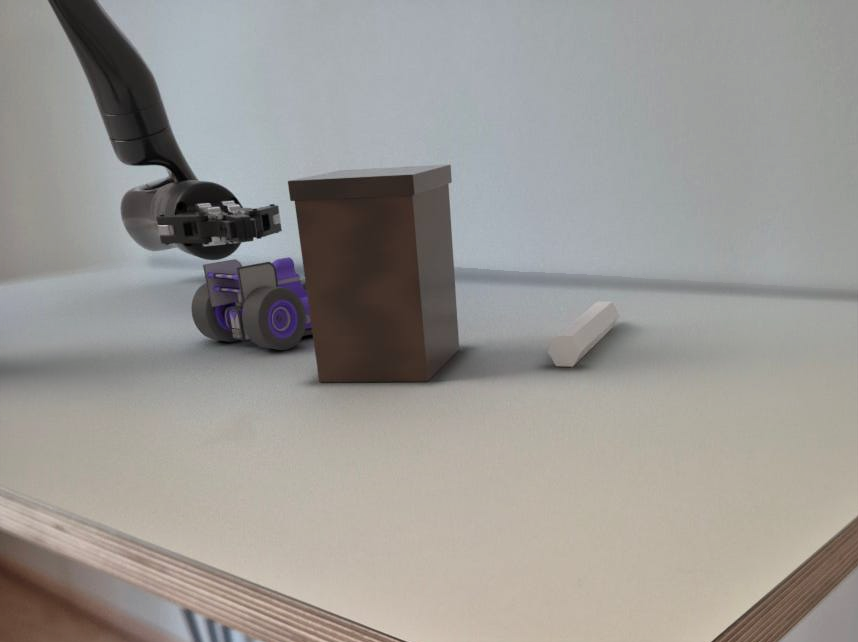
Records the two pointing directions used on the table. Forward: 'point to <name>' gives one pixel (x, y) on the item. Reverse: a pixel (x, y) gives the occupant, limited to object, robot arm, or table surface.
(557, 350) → the grey hexagonal bar
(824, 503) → the table surface
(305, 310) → the toy race car
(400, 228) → the brown lidded box
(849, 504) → the table surface
